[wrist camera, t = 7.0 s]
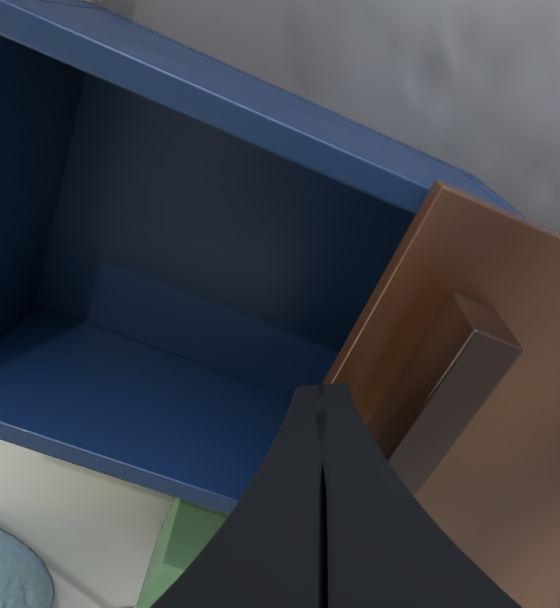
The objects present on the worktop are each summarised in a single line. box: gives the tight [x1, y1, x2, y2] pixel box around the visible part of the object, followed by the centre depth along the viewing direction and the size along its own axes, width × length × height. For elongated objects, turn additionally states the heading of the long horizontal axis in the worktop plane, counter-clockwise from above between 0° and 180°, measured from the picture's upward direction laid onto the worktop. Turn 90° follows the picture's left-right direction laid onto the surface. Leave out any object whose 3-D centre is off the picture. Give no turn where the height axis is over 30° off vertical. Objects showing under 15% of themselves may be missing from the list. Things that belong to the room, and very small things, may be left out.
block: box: [136, 497, 229, 608], centre depth 21 cm, size 5×5×5 cm
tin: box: [0, 0, 527, 515], centre depth 14 cm, size 12×10×6 cm
